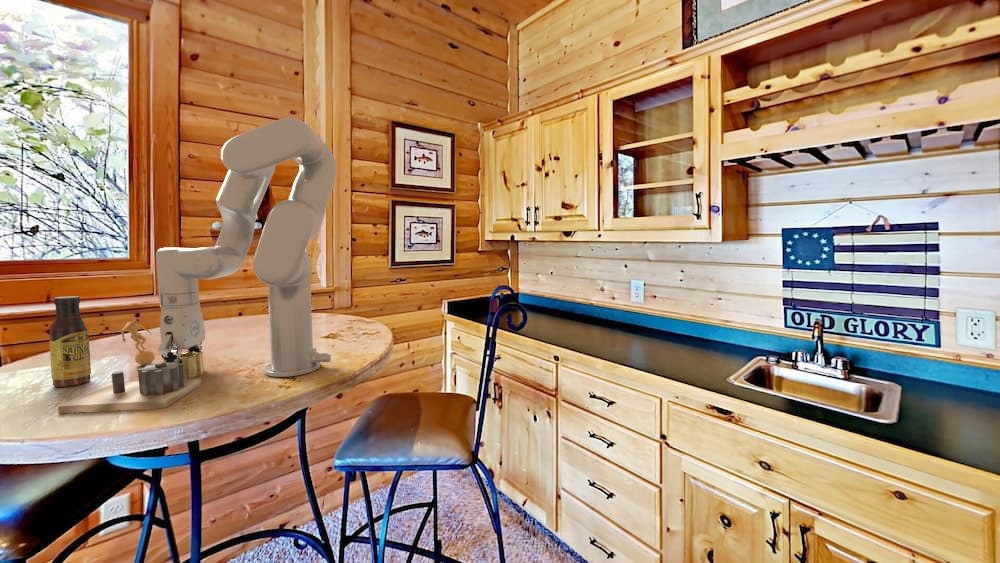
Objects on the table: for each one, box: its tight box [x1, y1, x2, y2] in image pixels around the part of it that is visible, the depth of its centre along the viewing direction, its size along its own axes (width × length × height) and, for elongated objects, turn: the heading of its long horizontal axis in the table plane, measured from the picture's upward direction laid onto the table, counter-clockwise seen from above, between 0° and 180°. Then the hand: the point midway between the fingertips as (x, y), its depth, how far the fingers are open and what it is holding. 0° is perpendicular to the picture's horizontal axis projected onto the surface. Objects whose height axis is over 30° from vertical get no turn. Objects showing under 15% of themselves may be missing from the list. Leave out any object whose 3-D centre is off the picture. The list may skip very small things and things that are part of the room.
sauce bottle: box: [48, 295, 92, 388], centre depth 94 cm, size 7×6×20 cm
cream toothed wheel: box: [173, 351, 205, 379], centre depth 100 cm, size 7×7×5 cm
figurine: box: [120, 319, 156, 366], centre depth 108 cm, size 8×6×12 cm
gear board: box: [57, 361, 202, 415], centre depth 86 cm, size 18×13×7 cm
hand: (185, 371), depth 100 cm, fingers open, 7 cm apart
